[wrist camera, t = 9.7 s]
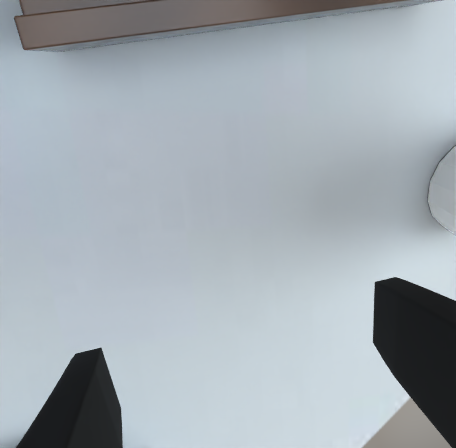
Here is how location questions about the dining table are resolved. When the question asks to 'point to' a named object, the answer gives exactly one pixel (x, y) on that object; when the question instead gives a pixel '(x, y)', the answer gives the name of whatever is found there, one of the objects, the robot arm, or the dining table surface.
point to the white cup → (444, 192)
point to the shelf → (164, 18)
